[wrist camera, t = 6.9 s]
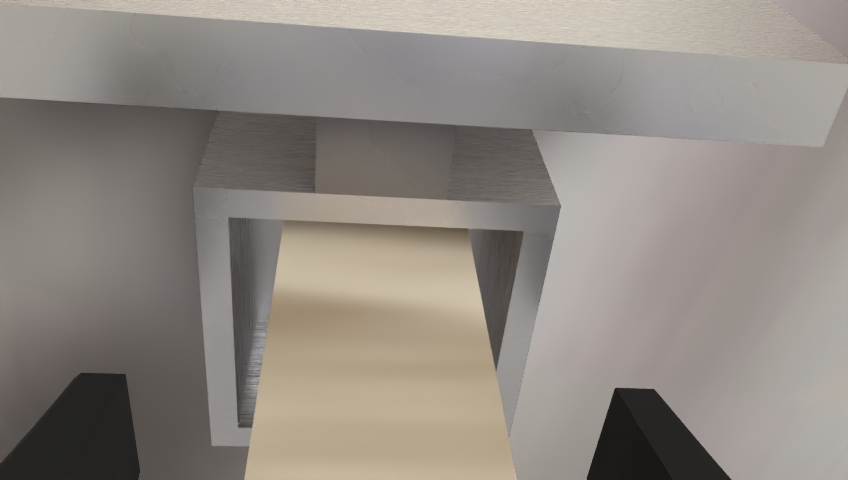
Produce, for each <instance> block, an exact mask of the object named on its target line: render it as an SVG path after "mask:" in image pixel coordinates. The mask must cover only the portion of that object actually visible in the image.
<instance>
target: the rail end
mask: <svg viewBox="0 0 848 480" xmlns="http://www.w3.org/2000/svg"><path fill="white" fill-rule="evenodd" d="M244 480H517V478H516V473H515V468H514V463H513V457H512V452H511V447H510V442H509V437H508V432H507V427H506V422H505V417H504V411H503V406H502V401H501V396H500V391H499V386H498V381H497V376H496V370H495V365H494V360H493V355H492V350H491V345H490V340H489V335H488V330H487V324H486V319H485V314H484V309H483V304H482V299H481V294H480V289H479V283H478V278H477V273H476V268H475V263H474V258H473V253H472V248H471V243H470V237H469V232H468V228H447V227H425V226H404V225H383V224H361V223H340V222H319V221H297V220H284V222H283V229H282V236H281V242H280V249H279V255H278V262H277V268H276V275H275V282H274V288H273V295H272V301H271V308H270V314H269V321H268V328H267V334H266V341H265V347H264V354H263V360H262V367H261V374H260V380H259V387H258V393H257V400H256V406H255V413H254V419H253V426H252V433H251V439H250V446H249V452H248V459H247V465H246V472H245V479H244Z"/></svg>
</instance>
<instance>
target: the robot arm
mask: <svg viewBox="0 0 848 480" xmlns="http://www.w3.org/2000/svg"><path fill="white" fill-rule="evenodd" d="M139 473H140V468H139V461H138V455H137V448H136V441H135V435H134V428H133V421H132V415H131V408H130V401H129V395H128V388H127V381H126V375H125V374H102V373H81V374H79V375H78V376H77V377H76V378H74V379H73V381H72V382H71V383H70V384H69V385H68V387H67V388H66V389H65V390H64V391H63V393H62V394H61V395H60V396H59V397H58V399H57V400H56V401H55V402H54V403H53V404H52V406H51V407H50V408H49V409H48V410H47V412H46V413H45V414H44V415H43V416H42V417H41V419H40V420H39V421H38V422H37V423H36V424H35V426H34V427H33V428H32V429H31V430H30V431H29V432H28V433H27V435H26V436H25V437H24V438H23V439H22V440H21V441H20V443H19V444H18V445H17V446H16V447H15V448H14V449H13V450H12V452H11V453H10V454H9V455H8V456H7V457H6V458H5V459H4V460H3V461H2V462H1V463H0V480H138V478H139ZM587 480H731V479H730V478H729V476H728V475H727V474H726V473H725V472H724V471H723V470H722V468H721V467H720V466H719V465H718V464H717V463H716V461H715V460H714V459H713V458H712V457H711V456H710V454H709V453H708V452H707V451H706V450H705V449H704V447H703V446H702V445H701V444H700V443H699V442H698V440H697V439H696V438H695V437H694V436H693V434H692V433H691V432H690V431H689V430H688V429H687V427H686V426H685V425H684V424H683V423H682V421H681V420H680V419H679V418H678V417H677V416H676V414H675V413H674V412H673V411H672V410H671V408H670V407H669V406H668V405H667V404H666V402H665V401H664V400H663V399H662V398H661V397H660V395H659V394H658V393H657V392H656V391H655V390H654V389H635V388H615V390H614V393H613V396H612V399H611V403H610V406H609V409H608V412H607V415H606V419H605V422H604V425H603V428H602V431H601V435H600V438H599V441H598V444H597V447H596V450H595V454H594V457H593V460H592V463H591V466H590V470H589V473H588V476H587Z"/></svg>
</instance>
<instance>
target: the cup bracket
mask: <svg viewBox="0 0 848 480" xmlns="http://www.w3.org/2000/svg"><path fill="white" fill-rule="evenodd" d="M847 88H848V58H847V57H846V56H844V55H843V54H842V53H840V52H839V51H838V50H836V49H835V48H834V47H832V46H831V45H830V44H828V43H827V42H826V41H824V40H823V39H822V38H820V37H819V36H818V35H816V34H815V33H814V32H812V31H811V30H810V29H808V28H807V27H806V26H804V25H803V24H802V23H800V22H799V21H798V20H796V19H795V18H794V17H792V16H791V15H790V14H788V13H787V12H786V11H784V10H783V9H782V8H780V7H779V6H778V5H776V4H775V3H773V2H772V1H771V0H0V97H5V98H21V99H38V100H54V101H71V102H87V103H104V104H120V105H137V106H153V107H170V108H186V109H203V110H219V112H218V115H217V118H216V121H215V124H214V127H213V129H212V132H211V135H210V138H209V141H208V144H207V147H206V149H205V152H204V155H203V158H202V161H201V164H200V167H199V170H198V172H197V175H196V178H195V181H194V184H193V187H192V189H193V203H194V216H195V230H196V243H197V256H198V270H199V283H200V297H201V310H202V324H203V337H204V350H205V364H206V377H207V391H208V404H209V417H210V431H211V444H212V446H248V447H249V446H250V439H251V433H252V426H253V419H254V413H255V406H256V400H257V393H258V387H259V380H260V374H261V367H262V360H263V354H264V347H265V341H266V334H267V328H268V321H269V314H270V308H271V301H272V295H273V288H274V282H275V275H276V268H277V262H278V255H279V249H280V242H281V236H282V229H283V222H284V220H297V221H319V222H340V223H361V224H383V225H404V226H425V227H447V228H468V232H469V237H470V243H471V248H472V253H473V258H474V263H475V268H476V273H477V278H478V283H479V289H480V294H481V299H482V304H483V309H484V314H485V319H486V324H487V330H488V335H489V340H490V345H491V350H492V355H493V360H494V365H495V370H496V376H497V381H498V386H499V391H500V396H501V401H502V406H503V411H504V417H505V422H506V427H507V432H508V437H509V436H510V431H511V427H512V422H513V418H514V413H515V409H516V404H517V400H518V396H519V391H520V387H521V382H522V378H523V373H524V369H525V364H526V360H527V355H528V351H529V347H530V342H531V338H532V333H533V329H534V324H535V320H536V315H537V311H538V306H539V302H540V298H541V293H542V289H543V284H544V280H545V275H546V271H547V266H548V262H549V257H550V253H551V249H552V244H553V240H554V235H555V231H556V226H557V222H558V217H559V213H560V208H561V204H560V202H559V199H558V197H557V194H556V191H555V189H554V186H553V184H552V181H551V178H550V176H549V173H548V171H547V168H546V166H545V163H544V160H543V158H542V155H541V153H540V150H539V147H538V145H537V142H536V140H535V137H534V135H533V132H532V129H533V130H549V131H566V132H582V133H599V134H615V135H632V136H648V137H665V138H681V139H698V140H714V141H731V142H747V143H764V144H780V145H797V146H813V147H823V145H824V143H825V141H826V138H827V136H828V133H829V131H830V129H831V126H832V124H833V122H834V119H835V117H836V114H837V112H838V110H839V107H840V105H841V102H842V100H843V98H844V95H845V93H846V90H847Z"/></svg>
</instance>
